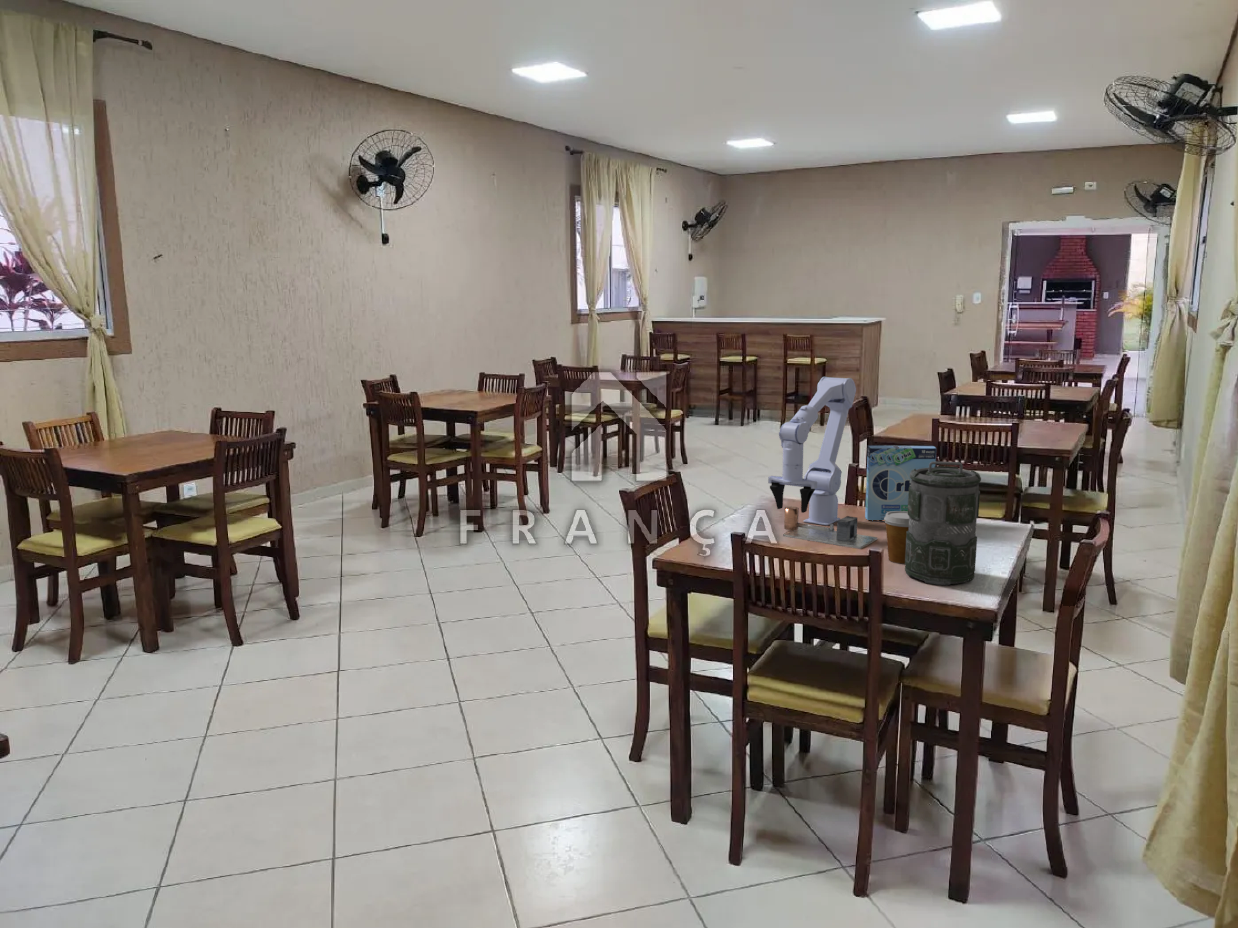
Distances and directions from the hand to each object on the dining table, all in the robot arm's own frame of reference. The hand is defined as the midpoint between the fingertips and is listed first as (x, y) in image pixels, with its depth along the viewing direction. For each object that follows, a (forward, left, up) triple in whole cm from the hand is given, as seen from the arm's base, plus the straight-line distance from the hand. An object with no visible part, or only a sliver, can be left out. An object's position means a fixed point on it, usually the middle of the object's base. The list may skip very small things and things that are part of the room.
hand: (791, 510), depth 247 cm
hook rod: (0, +5, -5) cm, 8 cm away
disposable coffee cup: (+10, +36, -7) cm, 38 cm away
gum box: (-31, +20, -7) cm, 38 cm away
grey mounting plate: (0, +12, -6) cm, 14 cm away
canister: (+18, +48, -7) cm, 52 cm away
